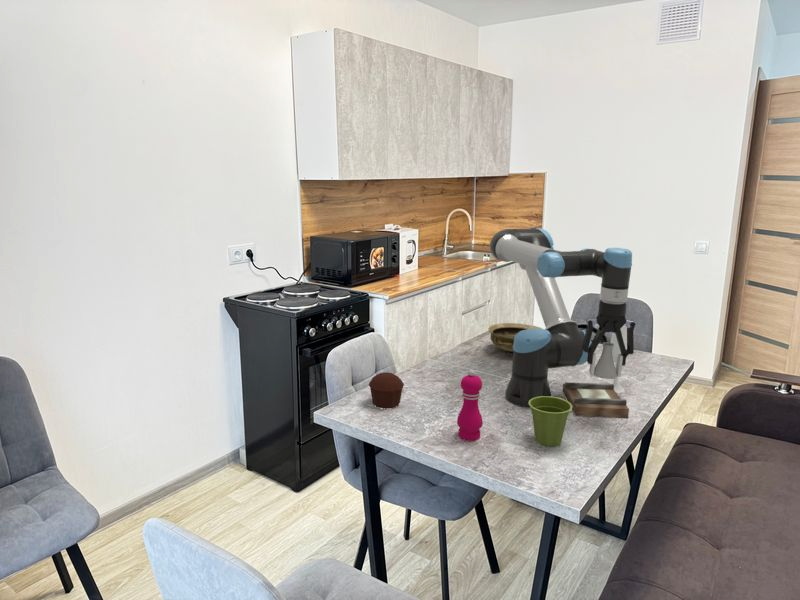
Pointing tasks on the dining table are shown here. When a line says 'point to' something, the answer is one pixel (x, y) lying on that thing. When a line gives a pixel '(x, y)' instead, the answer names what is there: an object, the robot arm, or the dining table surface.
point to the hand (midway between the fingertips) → (604, 374)
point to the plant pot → (549, 419)
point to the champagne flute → (615, 354)
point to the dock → (595, 400)
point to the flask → (606, 363)
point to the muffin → (386, 390)
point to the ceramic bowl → (507, 334)
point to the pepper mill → (470, 408)
